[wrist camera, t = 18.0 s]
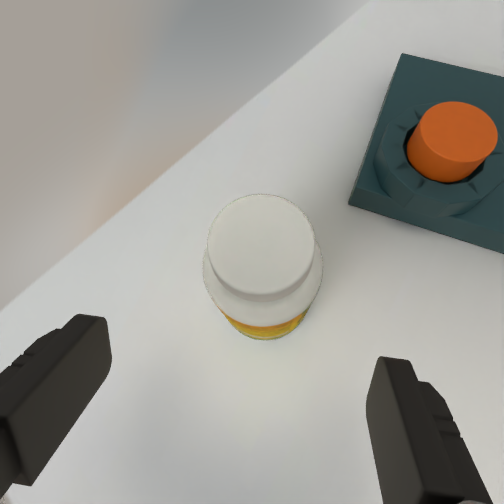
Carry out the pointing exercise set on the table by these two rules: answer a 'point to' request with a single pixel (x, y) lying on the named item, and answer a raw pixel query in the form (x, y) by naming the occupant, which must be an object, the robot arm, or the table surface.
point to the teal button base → (418, 186)
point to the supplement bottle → (262, 265)
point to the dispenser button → (451, 141)
